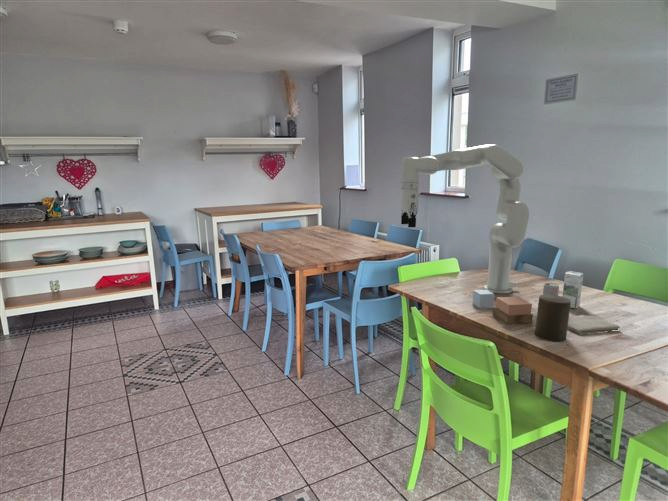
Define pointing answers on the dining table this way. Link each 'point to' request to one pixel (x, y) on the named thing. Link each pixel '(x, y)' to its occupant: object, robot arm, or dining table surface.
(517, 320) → the walnut base block
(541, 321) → the pillar candle
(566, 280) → the syrup box
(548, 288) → the energy drink
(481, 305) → the blue-grey cube
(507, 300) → the terracotta block
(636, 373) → the dining table surface
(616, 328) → the washcloth
